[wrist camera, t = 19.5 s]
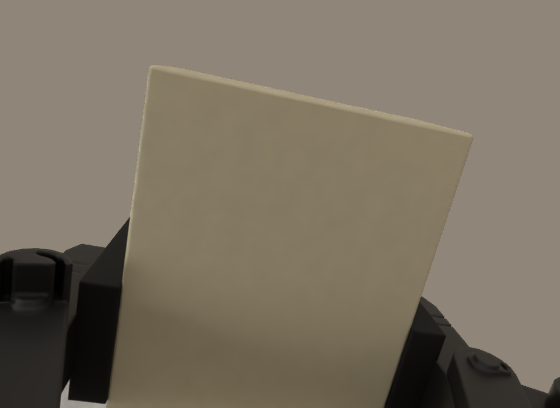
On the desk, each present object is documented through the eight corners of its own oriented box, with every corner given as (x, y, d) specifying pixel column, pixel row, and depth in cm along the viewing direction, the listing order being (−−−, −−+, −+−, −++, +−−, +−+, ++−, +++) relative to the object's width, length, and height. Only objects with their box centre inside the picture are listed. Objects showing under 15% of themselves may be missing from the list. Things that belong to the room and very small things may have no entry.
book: (106, 534, 13) (171, 65, 10) (296, 548, 14) (423, 120, 11) (76, 634, 11) (148, 63, 7) (307, 644, 12) (476, 135, 8)
